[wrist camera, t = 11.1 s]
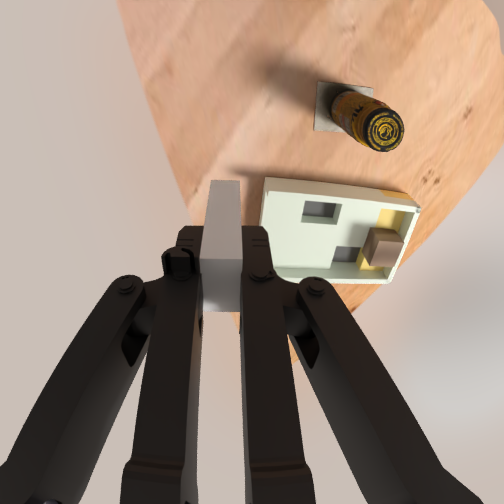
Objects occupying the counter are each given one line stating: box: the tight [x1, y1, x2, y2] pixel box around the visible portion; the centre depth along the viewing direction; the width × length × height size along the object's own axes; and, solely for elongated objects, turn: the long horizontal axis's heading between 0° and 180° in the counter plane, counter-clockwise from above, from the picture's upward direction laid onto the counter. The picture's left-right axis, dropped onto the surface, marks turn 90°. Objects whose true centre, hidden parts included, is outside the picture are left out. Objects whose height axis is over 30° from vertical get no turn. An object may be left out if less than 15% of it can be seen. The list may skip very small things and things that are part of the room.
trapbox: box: [259, 177, 421, 284], centre depth 49 cm, size 16×25×5 cm, turn 84°
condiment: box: [314, 82, 404, 152], centre depth 34 cm, size 7×8×12 cm
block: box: [362, 227, 404, 267], centre depth 49 cm, size 5×5×4 cm
